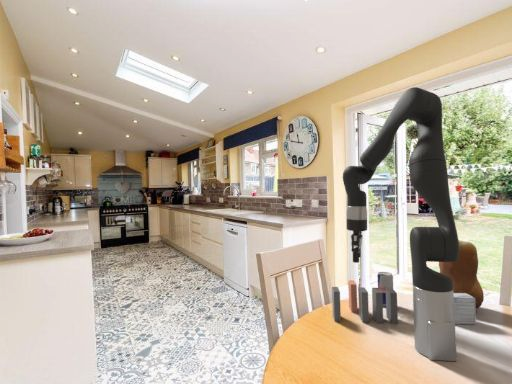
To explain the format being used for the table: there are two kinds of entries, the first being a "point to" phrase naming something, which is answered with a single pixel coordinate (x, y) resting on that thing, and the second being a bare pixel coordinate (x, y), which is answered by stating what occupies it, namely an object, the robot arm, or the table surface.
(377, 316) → the domino
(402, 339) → the table surface
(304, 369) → the table surface
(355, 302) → the domino
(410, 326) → the table surface
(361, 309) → the domino
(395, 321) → the domino
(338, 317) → the domino
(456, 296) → the medicine box
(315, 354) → the table surface
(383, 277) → the energy drink
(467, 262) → the butternut squash
